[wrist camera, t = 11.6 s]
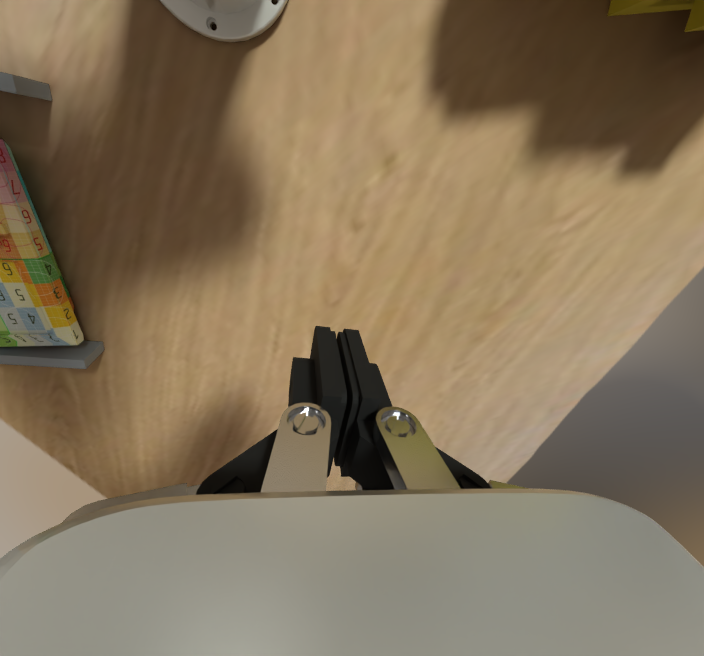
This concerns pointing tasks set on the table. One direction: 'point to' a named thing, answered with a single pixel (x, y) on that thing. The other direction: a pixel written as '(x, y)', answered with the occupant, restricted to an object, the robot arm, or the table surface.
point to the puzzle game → (29, 271)
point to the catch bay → (44, 355)
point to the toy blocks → (661, 9)
